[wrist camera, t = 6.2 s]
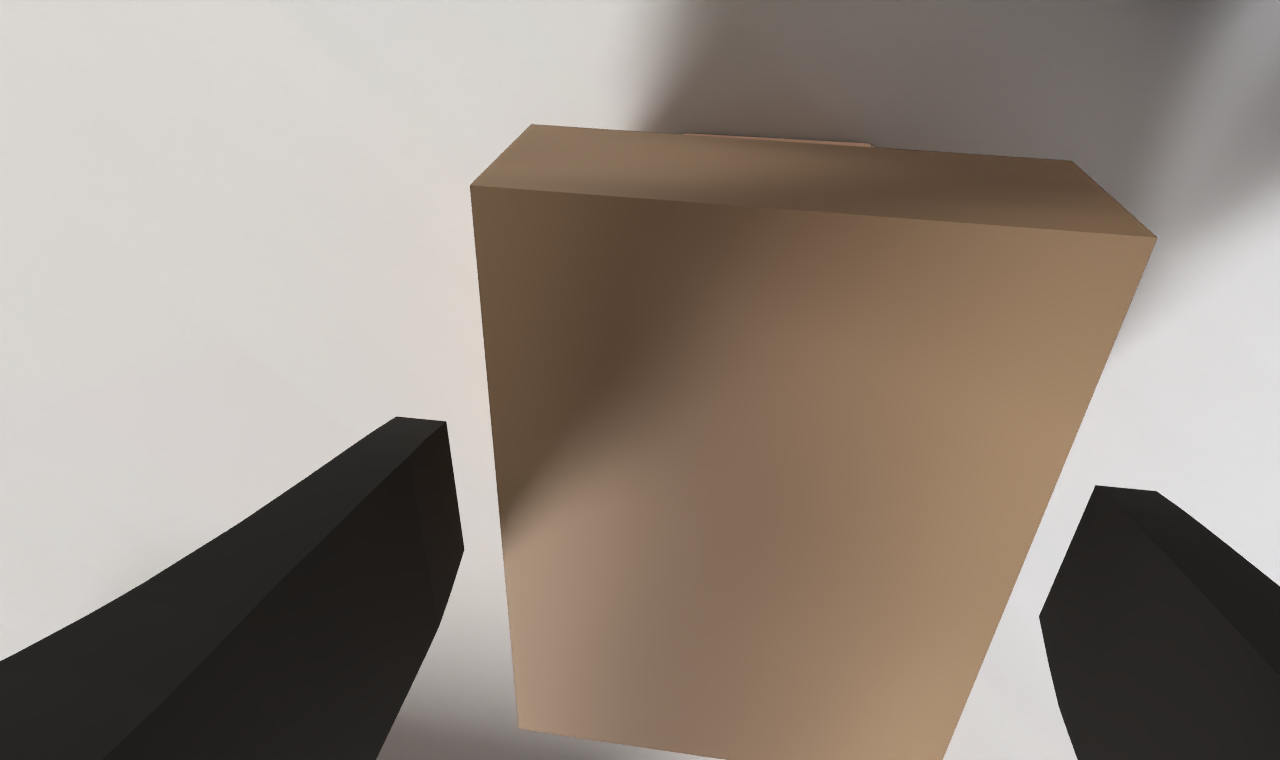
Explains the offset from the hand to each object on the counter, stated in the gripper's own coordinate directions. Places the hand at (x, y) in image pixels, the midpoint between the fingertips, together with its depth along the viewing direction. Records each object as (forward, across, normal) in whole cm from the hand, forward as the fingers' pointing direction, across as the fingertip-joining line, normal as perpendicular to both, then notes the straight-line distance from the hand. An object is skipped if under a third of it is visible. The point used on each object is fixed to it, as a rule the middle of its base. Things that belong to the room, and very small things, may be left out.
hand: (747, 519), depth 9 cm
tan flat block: (+1, 0, 0) cm, 1 cm away
